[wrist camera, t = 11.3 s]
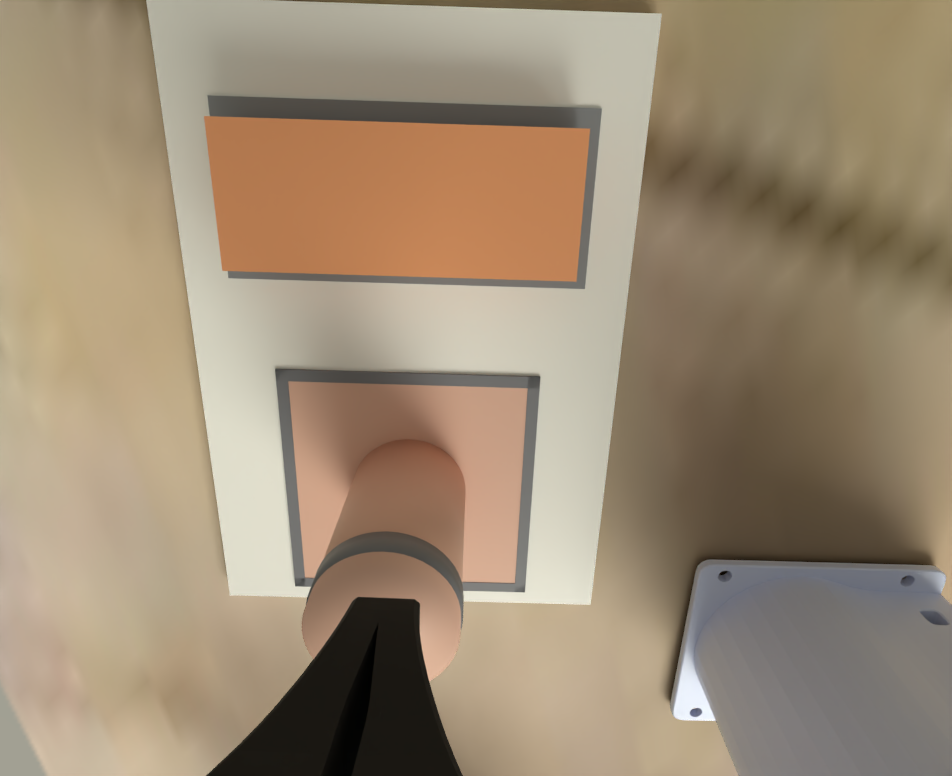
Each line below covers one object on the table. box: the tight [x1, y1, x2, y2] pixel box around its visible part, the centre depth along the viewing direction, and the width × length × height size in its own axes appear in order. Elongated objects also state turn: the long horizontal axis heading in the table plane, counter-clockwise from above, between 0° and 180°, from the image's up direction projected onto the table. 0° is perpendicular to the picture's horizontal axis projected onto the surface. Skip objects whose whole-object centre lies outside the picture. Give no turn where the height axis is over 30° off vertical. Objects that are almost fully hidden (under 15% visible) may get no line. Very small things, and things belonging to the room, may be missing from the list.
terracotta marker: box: [302, 439, 466, 681], centre depth 19 cm, size 4×4×7 cm
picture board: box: [146, 0, 662, 605], centre depth 21 cm, size 14×20×1 cm
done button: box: [204, 116, 590, 282], centre depth 17 cm, size 10×4×2 cm, turn 88°
